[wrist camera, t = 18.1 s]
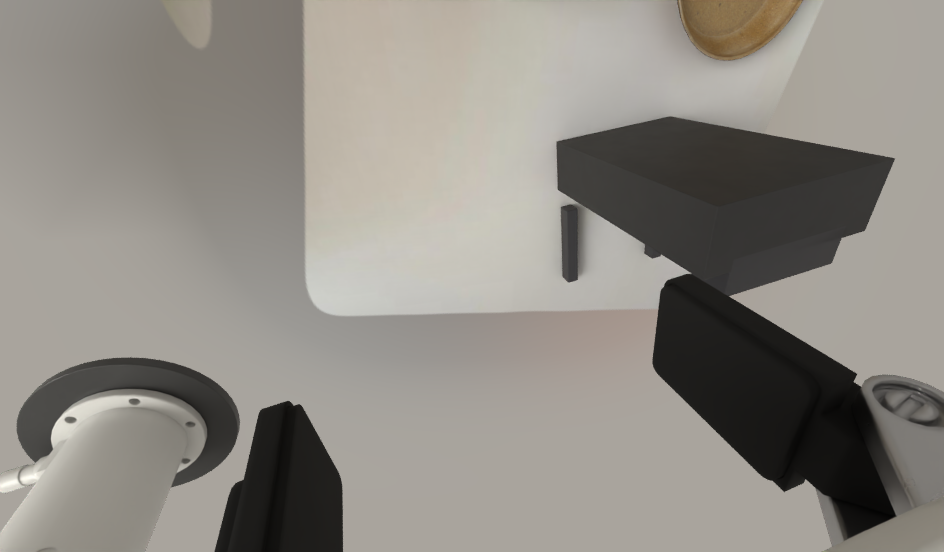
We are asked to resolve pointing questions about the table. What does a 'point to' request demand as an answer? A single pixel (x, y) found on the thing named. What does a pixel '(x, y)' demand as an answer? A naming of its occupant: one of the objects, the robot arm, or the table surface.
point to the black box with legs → (719, 197)
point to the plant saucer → (734, 24)
